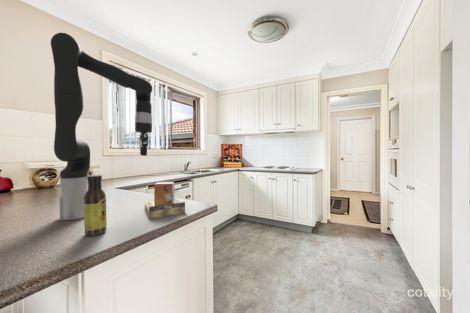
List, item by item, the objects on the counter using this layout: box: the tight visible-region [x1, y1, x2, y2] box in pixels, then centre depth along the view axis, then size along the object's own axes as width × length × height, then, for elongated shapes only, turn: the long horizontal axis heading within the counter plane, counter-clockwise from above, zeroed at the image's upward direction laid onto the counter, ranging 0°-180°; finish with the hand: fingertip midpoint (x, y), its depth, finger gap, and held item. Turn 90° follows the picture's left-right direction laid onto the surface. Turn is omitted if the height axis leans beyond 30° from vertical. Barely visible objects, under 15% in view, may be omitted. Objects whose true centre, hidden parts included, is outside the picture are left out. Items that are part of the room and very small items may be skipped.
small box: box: [153, 181, 175, 206], centre depth 92 cm, size 8×6×10 cm
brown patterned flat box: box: [144, 198, 186, 219], centre depth 94 cm, size 15×16×5 cm
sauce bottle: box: [83, 174, 107, 237], centre depth 69 cm, size 6×6×20 cm
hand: (143, 155), depth 99 cm, fingers open, 8 cm apart
